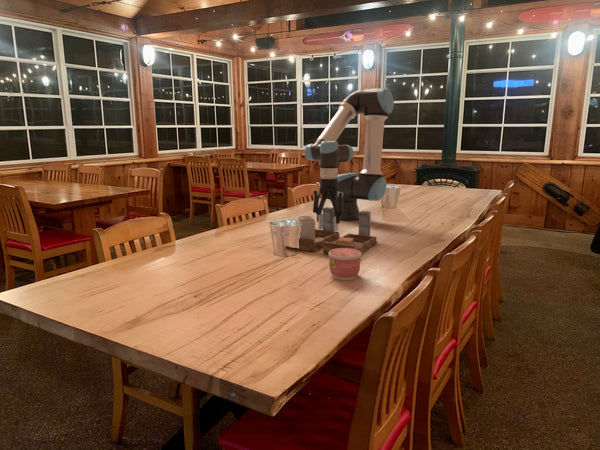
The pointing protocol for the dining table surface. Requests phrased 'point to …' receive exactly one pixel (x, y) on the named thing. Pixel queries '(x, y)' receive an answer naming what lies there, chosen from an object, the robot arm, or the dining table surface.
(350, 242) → the cube
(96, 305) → the dining table surface
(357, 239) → the lane
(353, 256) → the container
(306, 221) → the can
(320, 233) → the frame
